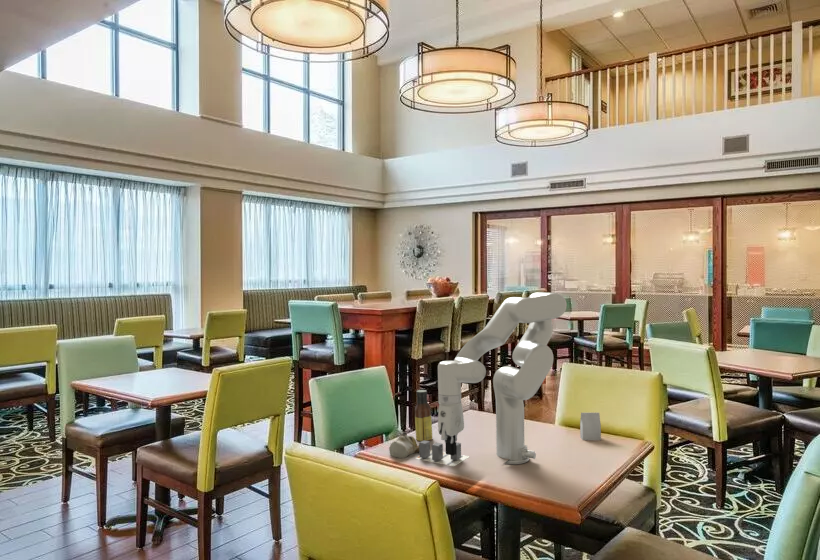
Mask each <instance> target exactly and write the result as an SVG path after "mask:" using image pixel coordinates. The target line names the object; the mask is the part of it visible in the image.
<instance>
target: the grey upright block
mask: <svg viewBox="0 0 820 560" xmlns="http://www.w3.org/2000/svg"><path fill="white" fill-rule="evenodd" d="M600 415H601V414H600V412H580V420H579V424H580V425H579V427H580V429H579V433H580V435H579V437H580V439H581V440H582V441H601V440H602V431H601V430H602V429H601V428H602V425H601V424H602V423H601V416H600Z"/></svg>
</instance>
